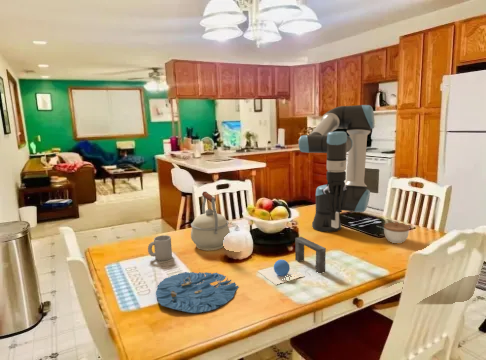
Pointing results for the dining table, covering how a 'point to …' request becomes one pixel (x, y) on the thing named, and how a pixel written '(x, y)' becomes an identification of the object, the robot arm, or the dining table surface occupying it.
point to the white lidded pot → (396, 232)
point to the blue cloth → (195, 291)
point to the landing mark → (275, 278)
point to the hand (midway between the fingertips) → (334, 227)
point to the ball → (281, 267)
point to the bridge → (319, 249)
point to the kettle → (209, 227)
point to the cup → (161, 247)
